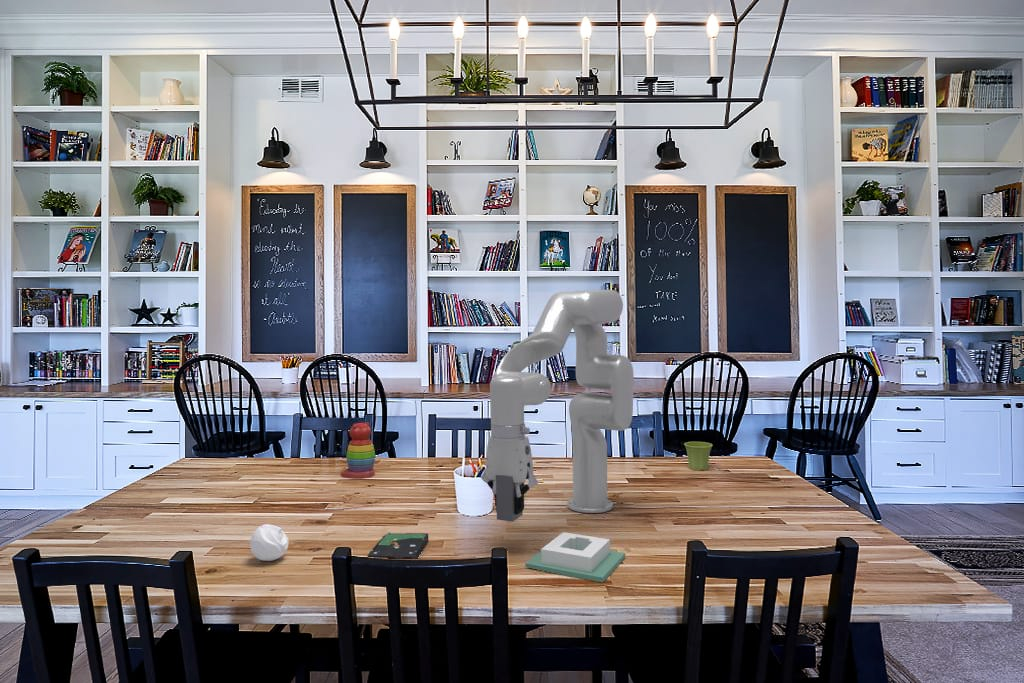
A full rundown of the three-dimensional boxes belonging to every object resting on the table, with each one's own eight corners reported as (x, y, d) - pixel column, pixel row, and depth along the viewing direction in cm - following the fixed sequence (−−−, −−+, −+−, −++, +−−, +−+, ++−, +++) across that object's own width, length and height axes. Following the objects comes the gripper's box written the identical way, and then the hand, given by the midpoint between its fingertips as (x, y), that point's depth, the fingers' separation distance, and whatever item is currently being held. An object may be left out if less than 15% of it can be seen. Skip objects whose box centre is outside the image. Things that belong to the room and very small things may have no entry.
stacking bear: (367, 470, 224) (366, 419, 223) (382, 475, 216) (381, 422, 216) (338, 475, 217) (338, 422, 216) (353, 480, 209) (352, 426, 209)
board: (553, 545, 148) (553, 528, 148) (625, 557, 140) (625, 539, 140) (525, 567, 135) (525, 549, 135) (602, 582, 127) (602, 562, 127)
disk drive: (415, 569, 136) (428, 543, 151) (414, 556, 136) (428, 532, 151) (366, 568, 137) (385, 543, 152) (366, 555, 137) (385, 531, 152)
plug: (509, 511, 150) (508, 468, 149) (524, 513, 148) (523, 470, 147) (496, 519, 144) (495, 475, 144) (512, 521, 142) (511, 477, 142)
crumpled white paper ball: (282, 566, 136) (281, 530, 136) (245, 567, 136) (244, 531, 136) (292, 552, 144) (291, 518, 144) (257, 553, 144) (256, 519, 143)
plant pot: (707, 473, 217) (708, 447, 217) (680, 469, 222) (680, 444, 222) (715, 467, 225) (715, 443, 225) (689, 464, 230) (689, 440, 230)
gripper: (548, 430, 144) (550, 511, 145) (483, 425, 151) (485, 502, 153) (534, 437, 137) (536, 521, 138) (467, 431, 145) (469, 511, 146)
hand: (509, 510), depth 145 cm, fingers closed on plug, 4 cm apart
